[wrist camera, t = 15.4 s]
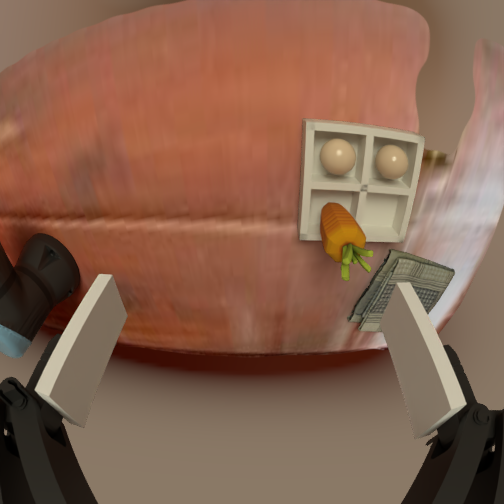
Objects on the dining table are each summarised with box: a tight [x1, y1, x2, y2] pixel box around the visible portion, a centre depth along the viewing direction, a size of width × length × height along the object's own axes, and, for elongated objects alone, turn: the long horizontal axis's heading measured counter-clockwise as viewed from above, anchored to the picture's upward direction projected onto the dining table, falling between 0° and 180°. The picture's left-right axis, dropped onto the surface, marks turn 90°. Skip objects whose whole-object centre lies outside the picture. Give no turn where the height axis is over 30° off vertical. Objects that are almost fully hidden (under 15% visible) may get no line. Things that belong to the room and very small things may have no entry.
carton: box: [297, 118, 425, 242], centre depth 35 cm, size 16×16×4 cm
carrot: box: [320, 202, 373, 281], centre depth 32 cm, size 5×5×15 cm
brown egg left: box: [320, 139, 356, 175], centre depth 32 cm, size 5×5×5 cm
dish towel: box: [347, 249, 455, 332], centre depth 47 cm, size 19×18×3 cm
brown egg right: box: [375, 145, 408, 179], centre depth 32 cm, size 5×5×5 cm
